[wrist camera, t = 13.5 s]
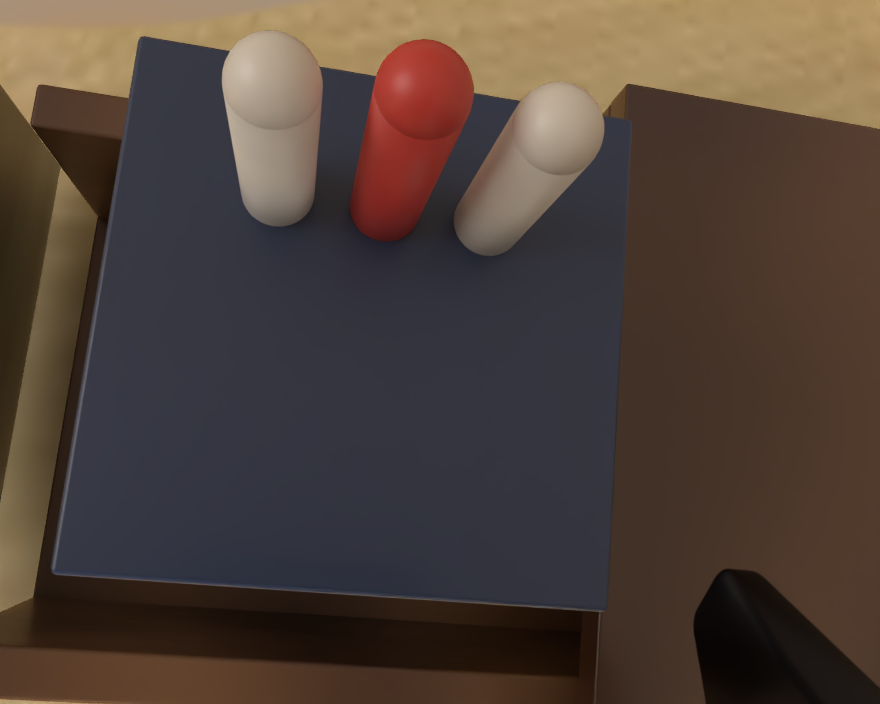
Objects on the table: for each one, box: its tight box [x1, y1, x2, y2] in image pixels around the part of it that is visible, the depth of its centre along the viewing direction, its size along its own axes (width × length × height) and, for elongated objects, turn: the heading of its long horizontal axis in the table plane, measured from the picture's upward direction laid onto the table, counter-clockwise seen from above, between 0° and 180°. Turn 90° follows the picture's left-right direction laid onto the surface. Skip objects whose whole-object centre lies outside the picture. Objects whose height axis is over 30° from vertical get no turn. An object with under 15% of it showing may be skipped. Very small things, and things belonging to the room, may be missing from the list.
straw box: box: [51, 30, 632, 612], centre depth 12 cm, size 4×4×15 cm
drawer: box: [0, 85, 583, 704], centre depth 17 cm, size 17×11×6 cm
